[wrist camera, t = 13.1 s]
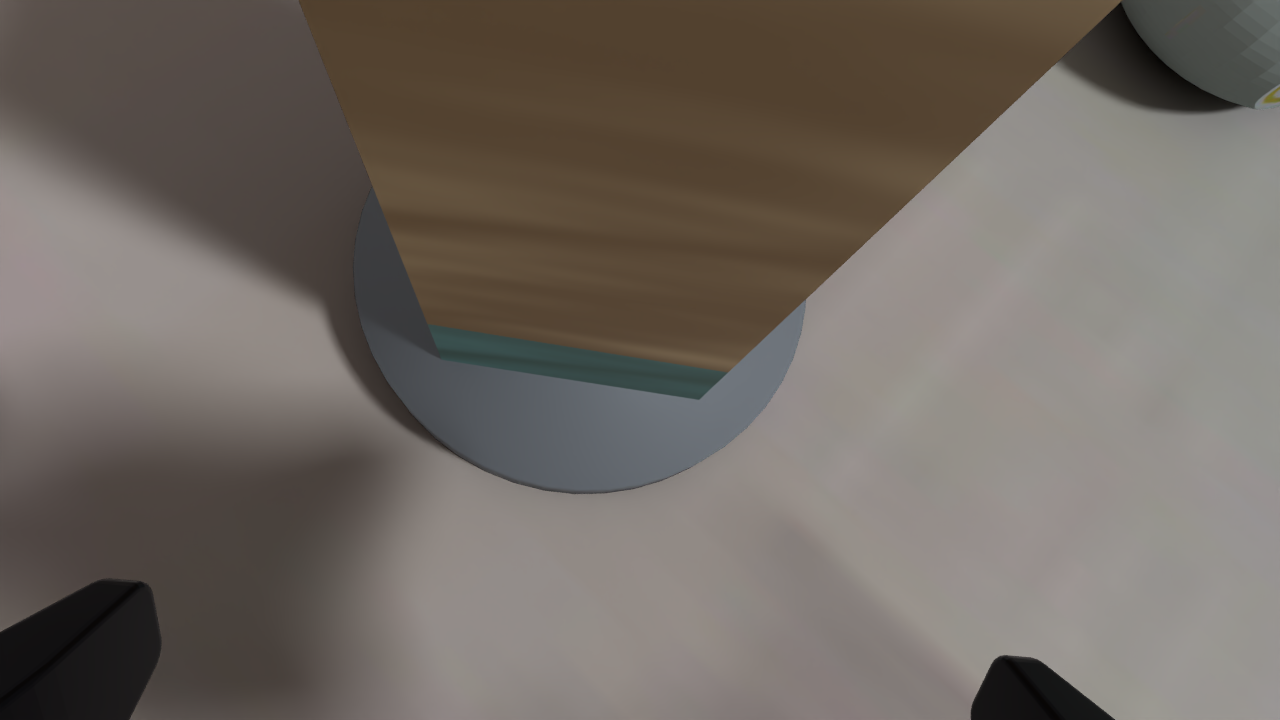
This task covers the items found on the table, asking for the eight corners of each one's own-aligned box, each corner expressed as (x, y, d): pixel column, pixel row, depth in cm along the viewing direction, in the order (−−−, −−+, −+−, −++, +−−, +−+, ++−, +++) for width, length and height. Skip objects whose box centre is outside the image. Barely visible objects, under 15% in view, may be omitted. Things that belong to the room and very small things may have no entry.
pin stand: (438, 563, 16) (399, 562, 11) (314, 147, 18) (236, -8, 13) (854, 409, 19) (973, 352, 14) (700, 63, 21) (755, -93, 16)
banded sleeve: (699, 400, 17) (1130, -8, 5) (441, 359, 16) (208, -231, 4) (720, 178, 18) (1074, -519, 7) (489, 133, 18) (421, -735, 6)
